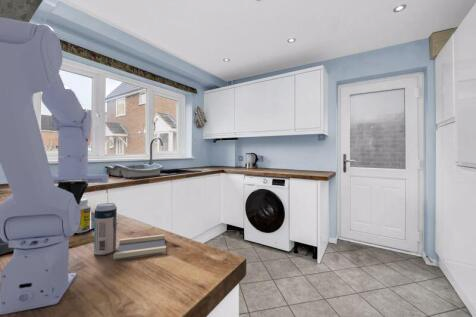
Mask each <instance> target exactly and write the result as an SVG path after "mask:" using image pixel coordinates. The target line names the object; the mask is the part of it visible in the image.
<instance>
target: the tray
mask: <svg viewBox="0 0 476 317" xmlns="http://www.w3.org/2000/svg"><path fill="white" fill-rule="evenodd" d="M165 237H166V235H165V234H157V235H156V234H155V235H145V236H138V237H137V236H136V237H129V238H128V237H127V238H119V241H118V242H119V244H118V246H117V248H116V250H115V251H114V252H113V256H112V259H113V262H114V261H123V260H129V259H137V258H143V257H151V256H159V255H164V254H167V246H166V239H165Z"/></svg>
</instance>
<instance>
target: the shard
mask: <svg viewBox="0 0 476 317" xmlns="http://www.w3.org/2000/svg"><path fill="white" fill-rule="evenodd" d="M92 242H94V235H73V236H70V237H69V248H72V247H76V246H81V245H84V244H87V243H88V244H89V243H92Z"/></svg>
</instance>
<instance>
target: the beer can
mask: <svg viewBox="0 0 476 317" xmlns="http://www.w3.org/2000/svg"><path fill="white" fill-rule="evenodd" d="M117 208H118V207H117V205H116V203H114V202H110V203H109V202H107V203H100V204H97V205H96V207H95V209H94V225H93V226H94V230H93V231H94V233H93V236H94V241H93V243H94V245H93V247H94V248H93V251H94V252H93V253H94V254H95V255H98V256H105V255H109V254H112V253H114V252H116V251H117V217H118V216H117Z"/></svg>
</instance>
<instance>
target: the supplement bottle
mask: <svg viewBox="0 0 476 317" xmlns="http://www.w3.org/2000/svg"><path fill="white" fill-rule="evenodd" d="M79 206H80V211H81V218H80V224H79V228H78V230H77V231H76V232H75V233H77V234H82V233H87V232H88V231H89V230H90V229H91V210H92V209H91V208H92V207H91V205H90V204H89V199H88V198H81V201H80V204H79Z"/></svg>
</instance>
